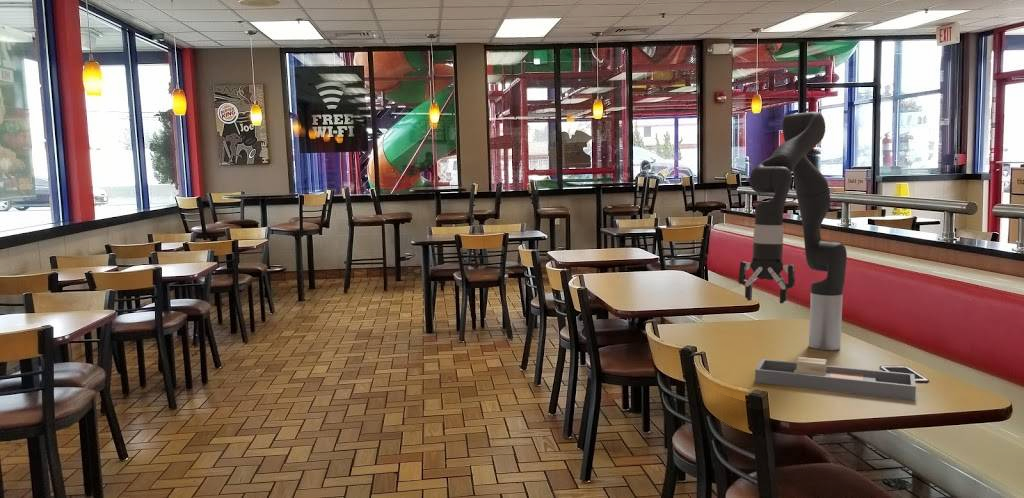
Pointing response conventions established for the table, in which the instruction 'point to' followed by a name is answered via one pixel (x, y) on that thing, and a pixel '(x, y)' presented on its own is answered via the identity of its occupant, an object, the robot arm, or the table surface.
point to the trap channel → (839, 379)
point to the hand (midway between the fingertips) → (765, 301)
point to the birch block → (811, 366)
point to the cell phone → (905, 369)
